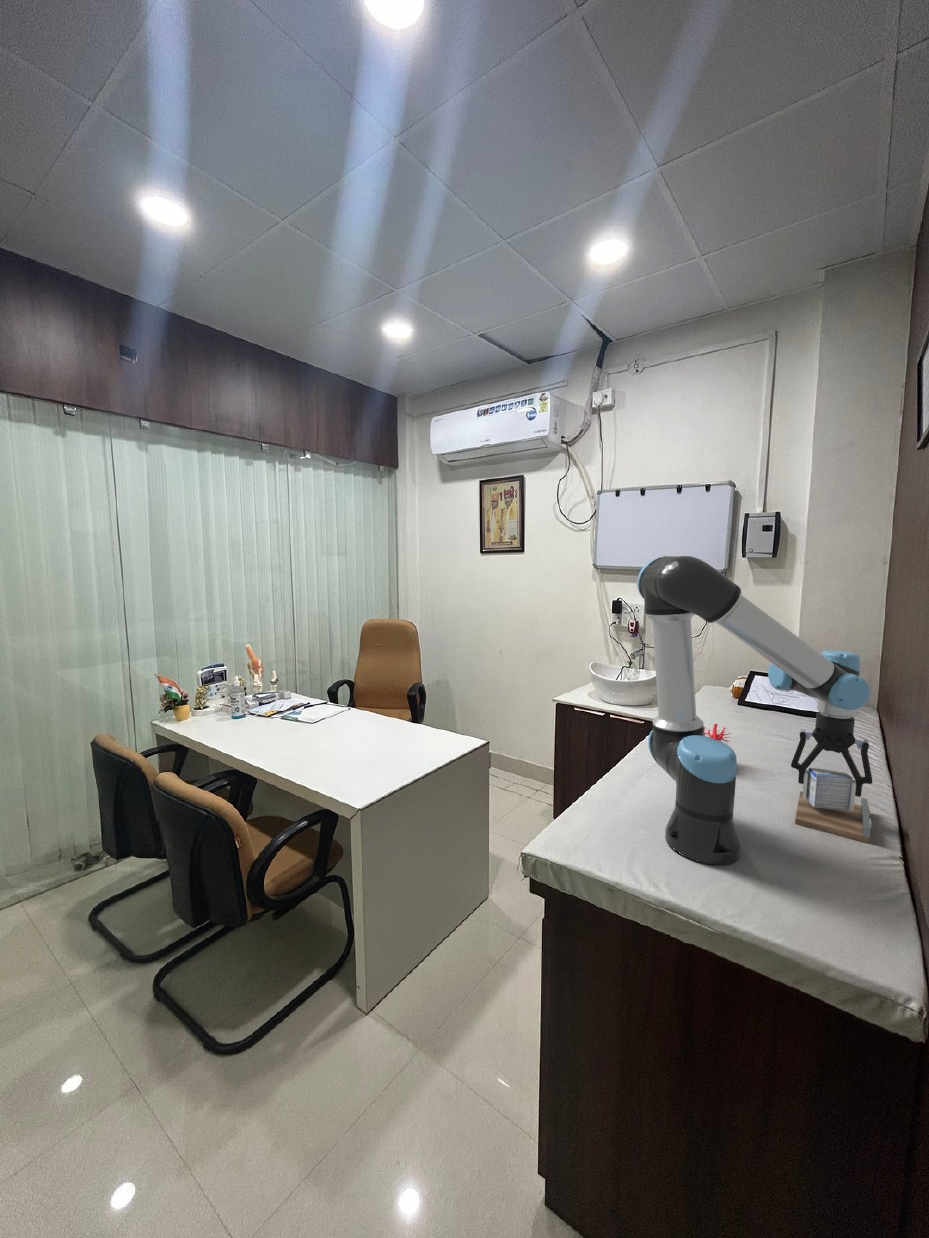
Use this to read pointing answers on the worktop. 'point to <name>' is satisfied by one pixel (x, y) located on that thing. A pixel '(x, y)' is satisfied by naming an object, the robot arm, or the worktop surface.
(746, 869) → the worktop surface
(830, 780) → the medicine box
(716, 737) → the red branching piece
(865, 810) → the shelf board
